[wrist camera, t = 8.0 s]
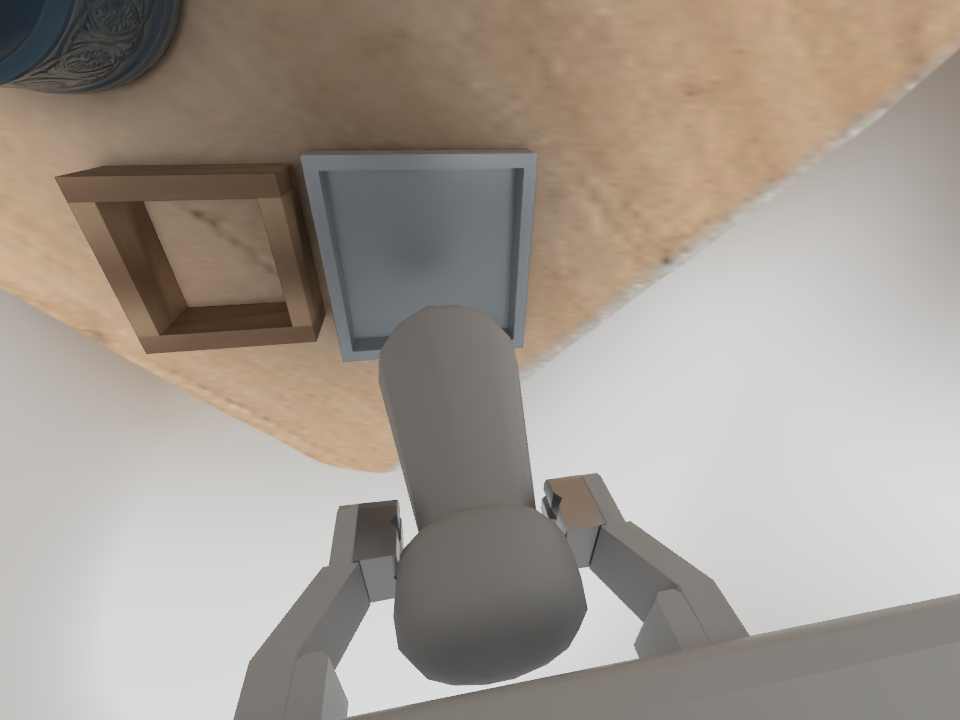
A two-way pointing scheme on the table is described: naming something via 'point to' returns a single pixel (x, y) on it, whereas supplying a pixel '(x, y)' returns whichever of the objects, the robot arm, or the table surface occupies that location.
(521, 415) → the salt shaker
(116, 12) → the canister
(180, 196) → the socket block
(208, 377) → the table surface
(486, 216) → the tray
